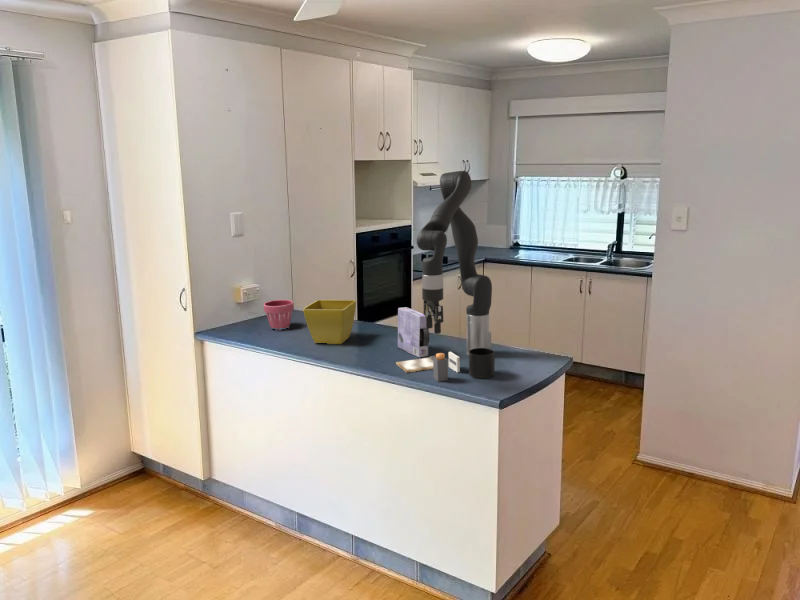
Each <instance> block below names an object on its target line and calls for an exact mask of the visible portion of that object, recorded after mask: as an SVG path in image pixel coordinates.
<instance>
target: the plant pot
mask: <svg viewBox="0 0 800 600" xmlns="http://www.w3.org/2000/svg"><path fill="white" fill-rule="evenodd" d="M294 308H295V307H294V302H293V300H289V299H276V300H270V301H265V302H264V303H263V312H264V313H265V314H266V317H267V320H268V323H269V326H270V328H271V327H272V328H277V329H280V328H287V327H289V326H290V325H291V320H292V314H293V313H292V312H293V311H294ZM289 328H290V327H289Z"/></svg>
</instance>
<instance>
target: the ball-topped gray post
mask: <svg viewBox="0 0 800 600" xmlns="http://www.w3.org/2000/svg"><path fill="white" fill-rule="evenodd" d="M445 354H446V353H444V352H439V353H435V358H433V369H432V371H433V379H434V380H435V381H436V382H437V383H438V382H440V383H441V382H446V380H447V381H449V373H448V372H449V358H447V357H445V356H446V355H445Z"/></svg>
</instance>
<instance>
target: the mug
mask: <svg viewBox="0 0 800 600" xmlns="http://www.w3.org/2000/svg"><path fill="white" fill-rule="evenodd" d="M495 354H496V353H495V350H494V349H492V348H491V349H488V348H475V349H471V350H470V351H469V356H468V374H469V376H470V377H471V378H474V379H483V380H484V379H489V378H493V377H494V376H495V371H496V370H495V366H496V365H495V364H496V362H495V361H496V360H495V356H496V355H495Z"/></svg>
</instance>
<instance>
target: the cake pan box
mask: <svg viewBox="0 0 800 600" xmlns="http://www.w3.org/2000/svg"><path fill="white" fill-rule="evenodd" d="M429 329H430V328H427V327H426V318H425V315H424V314H423V313H422V312H419V311H417V310H415V309H412V308H409V307H406V306H405V307H398V308H397V348H398V349H400V350H403V351H404V352H406V353H408V354H411V355H413V356H414V357H416V358H418V357H419V358H418V359H422V358H427V357H429V344H430V330H429ZM426 356H427V357H426ZM421 357H422V358H421Z"/></svg>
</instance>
